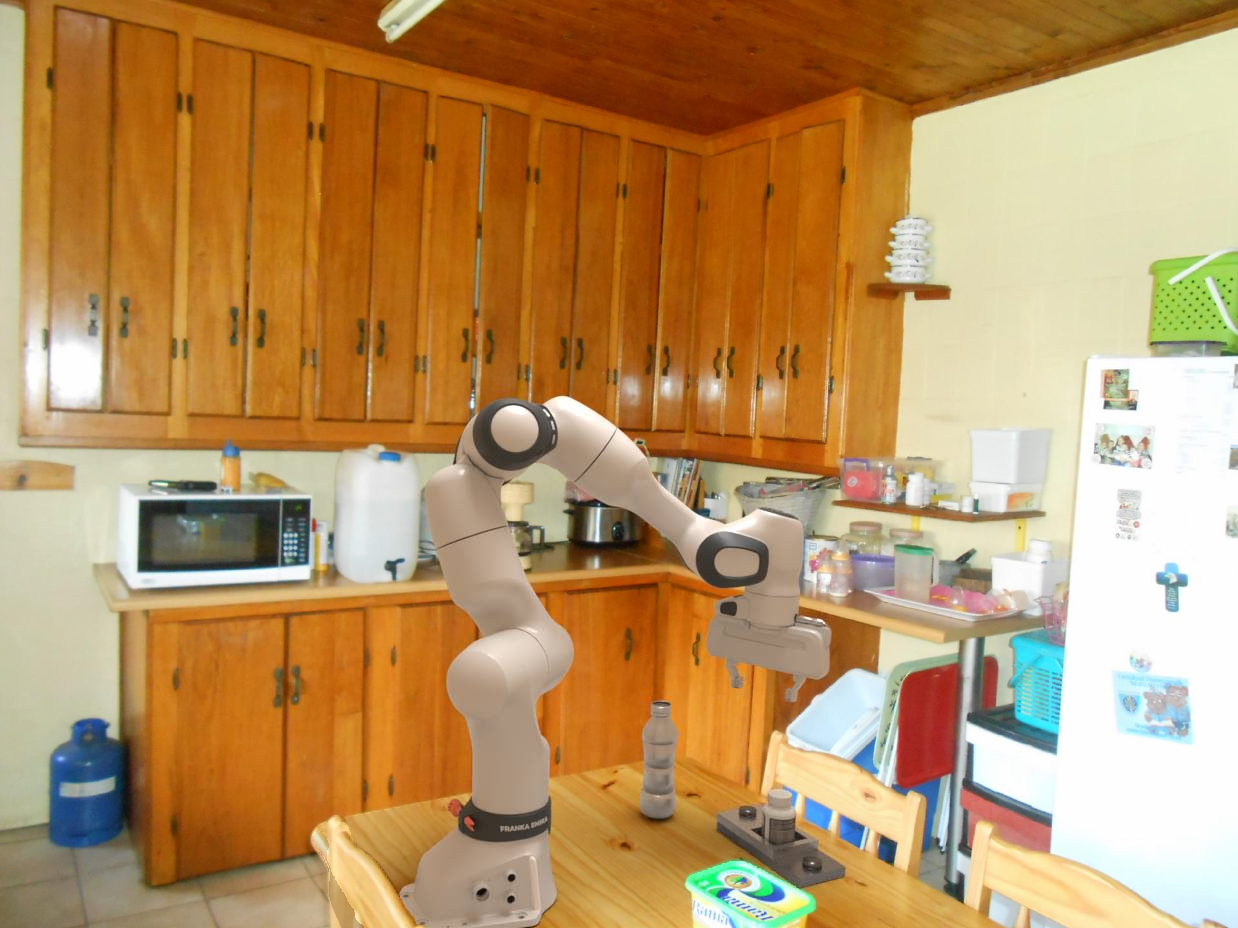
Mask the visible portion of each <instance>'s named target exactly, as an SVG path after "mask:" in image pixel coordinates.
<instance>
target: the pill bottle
mask: <svg viewBox="0 0 1238 928" xmlns="http://www.w3.org/2000/svg"><path fill="white" fill-rule="evenodd" d="M766 797H767V799H766V800H767V803H765V804H764V805H763V810H762V834H761V837H762V838H764V839H765V840H767V841H768V842H770V843H771V844H773V845H774V846H777V845H781V844H786V843H790V842H794V841H795V826H796V820H797V818H796V817H797V811H796V809H795V807H794V806H793V805H792V804H793V793H792V792H791V791H789V790H787V789H782V788H773V789H770V790H768V792H767V796H766Z"/></svg>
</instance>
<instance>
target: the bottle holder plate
mask: <svg viewBox="0 0 1238 928" xmlns="http://www.w3.org/2000/svg"><path fill="white" fill-rule="evenodd" d="M763 806H764V805H763V804H761V803H758V804H754V805H742V806H738V807H739V808H734V809H728V810H724V811H718V812H717V813H716V814H717V815H716V820H717V821H716V831H718V832H719V833H721V834H722V835H723V836H725V837H727V838H728V839H729V840H730V841H732V842H733V843H734V844H736V845H737V846H739V847H740V848H741V849H743V850H745V851H746V852H747V853H749V854H750V855H751V856H753V857H755V859H757V860H758V861H759V862H761V863H763V864H764V865H766V866H767V867H768V868H770V869H772V870H773V871H774V872H775V873H777V874H779V875H780V876H781V877H782V878H784V879H785V880H787V881H788V882H789V883H791V884H793V885H794V886H795V885H796V886H795V887H797V886H798V887H799V888H798V887H797V888H798V889H801V888H806V887H809V886H814V885H817V884H816V883H818V884H821V882H822V883H824V882H823V881H825V882H828V880H829V881H831V880H830V879H833V880H836V879H835V878H837V879H840V878H839V877H841V878H844V877H843V876H845V877H846V866H845V865H843V864H842V863H840V862H838V861H837V860H835V859H834V858H832V857H830V856H829V855H828V854H826V853H825V852H823V851H821V850H820V849H819V840H818V839H817V838H816V837H814V836H813V835H811V834H809V833H808V832H806V831H804V830H803V829H801V828H800V827H798V826H797V825H795V841H794V842H790V843H786V844H781V845H777V846H774V845H773V844H771V843H770V842H768V841H767V840H765V839H764V838H762V837H761V834H762V810H763Z"/></svg>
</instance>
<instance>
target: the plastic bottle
mask: <svg viewBox="0 0 1238 928" xmlns="http://www.w3.org/2000/svg"><path fill="white" fill-rule="evenodd" d="M672 707H673V705H672V702H669V701H666V700H655V701H652V702H651V703H650V712H649V715H650V718H649V719H648V720H647V722H646V723H645V724H644V726H643V729H642V733H641V739H642V740H641V741H642V749H643V763H644V764H643V776H642V777H643V778H642V787H641V791H640V795H639V796H640V797H639V806H640V811H641V812H642V814H643V815H644V816H645V817H646V818H649V819H655V820H664V819H668V818H670V817H671V816H673V814H674V813H675V811H676V808H677V807H676V806H677V795H676V790H675V760H676V759H675V758H676V752H677V747H678V740H679V733H678V732H679V731H678V729H677V726H676V724H675V723H674V721H673V720H672V718H671V716H672V715H673V711H672Z"/></svg>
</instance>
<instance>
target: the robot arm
mask: <svg viewBox="0 0 1238 928" xmlns="http://www.w3.org/2000/svg"><path fill="white" fill-rule="evenodd" d="M533 464H542V465H546V466H549V467H551V468H552V469H553V470H557V471H558V472H559V473H560V474H561V475H562V476H563V477H565V478H566V479H567V480H569V481H570V482H571V483H572V484H573V485H575V486H576V487H577V488H579V489H580V490H581V491H583V492H584V493H586V494H587V495H588V496H590V497H592V498H595V499H596V500H598V501H600V502H601V503H603V504H605V505H608V506H610V507H615V508H621V509H624V510H627V511H630V512H632V513H634V514H636V516H638V517H640V518H641V519H643V520H644V522H646V523H648V524H649V525H650V526H651V527H652V528H654V529H655V530H656V531H657V532H658V533H660V534H661V535H662V536H663V537H665V538H666V539H668V541H669V542H670V543H671V544H672V545H673V547H674V549H675V550H676V552H677V554H678V557H679V558H680V560H681V562H682V564H683V565H684V566H685V567H686V569H688V570H689V572H691V573H693V574H694V575H696V576H698V578H700V579H701V580H702V581H703V582H704V583H706V584H707V585H709V586H711V587H712V588H716V589H735V588H742V587H743V588H744V590H743V591H744V593H743V594H738V595H733V596H729V597H725V598H722V599H719V600H717V601H715V602H714V605H713V607H714V608H713V609H714V613H715V615H714V616H712V618H711V619H710V622H709V625H708V626H709V627H708V631H707V636H706V650H707V652H708V654H709V655H710V656H711V657H716V658H719V659H723V660H724V659H725V660H726V661H725V667H726V669H727V672H728V674H729V675H730V676H729V677H730V687H731V688H733V689H738V690H740V689H742V688H743V686H744V679H745V677H744V676H742V675H740V673H739V670H738V668H737V666H738V665H739V664H740V663H741V664H745V665H750V666H755V667H758V668H759V667H760V668H764V669H768V670H772V671H777V672H780V673H785V674H790V675H793V676H792V682H795V683H794V684H793V686H792V687H788V688H787V689H785V691H784V695H785V696H784V701H786V702H790V703H795V702H797V701H798V696H799V695H798V693H799V690H800V689H801V687H802V686H803V685H804V684H805V682H806V681H807V679H813V680H816V681H817V680H820V679H822V678H824V677H826V675H828V674H829V673H830V665H831V664H830V659H831V658H830V655H831V654H830V646H831V644H832V636H833V635H832V634H833V631H832V628H831V627H830V625H829V624H827V622H825V621H824V619H821V618H817V617H816V618H814V617H809V616H806V615H802V614H799V609H800V597H801V587H800V582H799V580H800V575H801V572H802V571H803V563H804V549H805V548H804V545H805V544H804V543H805V542H804V527H803V524H802V522H801V521H800V519H799V518H798V517H796V516H795V515H794V514H792V513H789V512H785V511H783V510H780V509H779V510H778V509H775V508H772V507H771V508H770V507H766V506H765V507H763V506H761V507H757V508H755V510H754V511H752V512H751V513H749V514H747V515H746V516H744V517H743V516H742V517H741V518H739V519H737V520H735V521H731V522H728V523H726V522H724V521H723V520H720V519H718V518H715V517H711V516H708V515H707V516H706V515H702V514H699V513H697V512H696V511H694V510H692V509H691V508H690V507H688V506H687V505H686V504H685V503H683V501H681V500H680V499H679V498H677V497H676V496H675V495H674V494H673V493H671V492H670V491H669V490H668V489H666V488H665V487H664V486H663V485H662V484H661V483H660V482H659V481H658V480H657V478H656V477H655V475H654V474H653V472H652V470H651V467H650V464H649V460H648V458H647V456H646V455H645V454H644V452H642V450H641V449H640V448H639V447H638V446H637V445H636V444H635V442H634V441H633V440H632V439H631V438H630V437H629V436H628V435H627V434H625V433H624V432H623V431H622V430H621V429H619V428H618V427H617V426H616V425H615V424H613V423H612V422H610V420H608V419H606V418H605V417H604V416H602V415H601V414H599V413H598V412H597V411H595V410H593V409H592V408H590V407H589V406H587V405H585V404H583V403H582V402H580V401H578V400H576V399H574V398H572V397H569V396H565V395H560V396H555V397H553V398H550V399H548V400H547V401H545V402H544V403H543V404H539V403H535V402H529V401H526V400H524V399H521V398H517V397H515V398H514V397H505V398H500V399H497V400H493V401H491V402H489V403H488V404H486V405H485V406H484V407H483V408H482V409H480V411H479V412H478V413H477V414H475V416H473V417H472V418H471V419H470V421H469V422H468V423H467V424H466V426H465V428H464V429H463V432H462V433H461V435H460V437H459V438H458V441H457V444H456V448H455V452H454V457H453V462H452V464H451V465H448V466H444V467H442V468H441V469H439V470H438V471H436V472H435V473H434V474H433V475H431V477H430V478H428V480H427V482H426V484H425V487H424V501H425V508H426V509H425V510H426V516H427V521H428V525H429V530H430V534H431V539H432V542H433V545H434V548H435V551H436V555H437V558H438V561H439V565H440V568H441V571H442V574H443V577H444V580H445V582H446V586H447V588H448V593H449V596H450V598H451V600H452V602H453V603H454V604H455V605H456V606H457V607H459V608H460V609H462V610H463V611H465V613H466V614H468V615H469V617H470V618H471V619H472V620H473V622H474V623H475V624H476V626H477V628H478V630H479V631H480V633H481V635H482V638H479V639H477V640H475V641H472V643H470V644H469V645H468V646H467V647H466V648H465V649H463V650H462V651H461V652H460V653H459V654H458V655H457V656H456V657H455V658H454V659H453V660H452V662H451V663H450V665H449V667H448V669H447V672H446V679H445V681H446V682H445V684H446V685H445V686H446V691H447V695H448V697H449V700H450V702H451V704H452V705H453V707H454V708H455V709H456V710H457V711H458V712H459V713H460V714H461V715H462V716H463V717H464V720H465V722H466V725H467V728H468V732H469V737H470V744H471V752H472V755H471V756H472V763H471V765H472V773H471V774H472V775H471V781H472V782H471V796H470V798H469V799H468V801H467V802H466V803H465V804H463V803H462V802H461V801H460V800H459V799H458V798H452V799H451V800H449V802H448V803H447V807H446V808H447V810H448V812H449V813H450V814H451V815H452V816H453V817H455V818H458V819H457V826H456V827H454V828H453V829H452V830H451V831H450V832H449V833H447V835H445V836H444V837H443V838H441V839H440V840H439V841H438V842H437V843H435V844H434V845H433V846H432V847H430V848H429V850H427V851H426V852H425V853H424V854H423V855H422V857H421V858H420V860H419V863H418V866H417V869H416V875H415V880H414V882H413V883H409V884H407V885H404V886H403V887H402V888H401V890H400V891H399V894H398V896H399V895H400V898H401V899H402V902H403V904H404V905H405V908H407V910H408V911H409V912H410V914H411V915H412V916H413V917H414V919H415V921H416V924H420V925H423V926H425V927H426V928H527V927H533V926H536V925H538V924H539V922H540V921H541V919H542V915H543V913H544V912H546V911H547V910H548V909H549V908H550V907H551V906H553V904H554V903H555V901H556V899H557V897H558V890H557V887H556V883H555V880H554V875H553V869H552V861H551V853H550V852H551V851H550V837H549V835H550V834H551V831H552V830H551V829H552V819H553V817H552V816H553V815H552V814H553V811H552V798H551V796H550V793H549V792H550V764H551V763H550V760H551V748H550V745H549V742H548V740H547V739H546V737H545V736H543V734H542V733H541V731H540V726H539V722H538V718H537V703H538V700H539V697H541V696H542V695H544V694H546V693H547V692H550V691H551V690H553V689H554V688H555V687H557V685H559V684H560V683H561V682H562V681H563V679H564V678H565V676H566V675H567V673H568V672H569V671H570V669H571V667H572V665H573V662H574V658H575V649H574V648H575V646H574V643H573V640H572V638H571V636H570V634H569V632H568V631H567V630H566V629H565V628H564V627H563V626H562V625H561V624H559V623H557V622H556V621H554V619H553V618H552V617H551V616H550V614H549V613H548V611H547V610H546V608H545V607H544V605H543V603H542V601H541V600H540V599H539V597H538V595H537V594H536V592H535V590H534V588H533V586H532V584H531V583H530V581H529V579H528V577H527V574H526V572H525V570H524V567H523V564H522V562H521V561H522V560H521V558H520V555H519V553H518V550H517V546H516V543H515V541H514V538H513V535H512V531H511V529H510V526H509V522H508V519H507V517H506V514H505V512H504V509H503V504H502V503H503V502H502V498H501V496H502V494H501V493H502V487H503V486H506V485H507V484H508V483H509V482H511V481H512V480H514V479H515V478H519V477H520V476H521V475H523V474H524V473H525V472H526V471H527V470H528V469H530V467H531V466H532V465H533Z"/></svg>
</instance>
